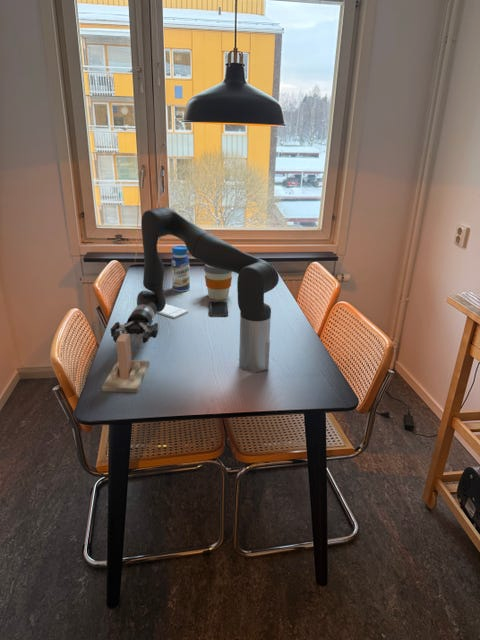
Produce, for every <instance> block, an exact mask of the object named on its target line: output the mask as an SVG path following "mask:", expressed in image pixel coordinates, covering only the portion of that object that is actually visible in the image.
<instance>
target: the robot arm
mask: <svg viewBox="0 0 480 640" xmlns="http://www.w3.org/2000/svg"><path fill="white" fill-rule="evenodd" d="M140 226H141V237H142V249H143V258H144V261H143V262H144V264H143V265H144V266H143V281H142V285H143V288H144V289H146V290H141V291H140V292H139V293H138V294H137V297H136V307H135V308H134V309H133V310H132V312H131V313H130V316H128V318H127V321H126V322H125V323H124V324H121V323H120V322H119V321H116V322H115V323H114V325H113V326H111V328H110V335H111V337H112V340H113V342H114V343H116V341H117V339H118V337H119V336H120V334H130V336H131V335H138V336H139V335H140V336H141V337H142V341H141V342H142V344H146V343H148V342H149V339H151V338H153V339H155V338H157V337H158V333H159V323H157V322H156V323H154V324H153V322H154V317H155V316H156V314H157V313H156V312H160V311H162V310H163V309H164V307H165V304H167V302H166V296H165V291H164V277H165V274H164V273H165V267H164V262H163V260H162V258H161V257H160V254H159V251H158V241H159V238H162V237H164V236H168V235H169V236H174V237H176V238H178V239H180V240H181V241H182V242H183V243H184V244H185V245H184V246H186V248H187V253H189V255H191V256H192V257H193V258H195V260H197V261H199V262H201V263H202V264H204V265H205V264H206V265H208V266H211V267H214V268H218V269H223V270H228V271H232V272H233V273H235V274H238V276H237V279H236V280H237V281H236V283H237V285H236V286H237V290H236V291H237V305H238V310H239V312H240V313H239V316H240V317H239V319H240V320H239V321H240V322H239V346H238V347H239V351H238V352H239V353H238V354H239V355H238V357H239V358H238V365H239V368H240V369H242V370H243V371H246V372H249V373H260V372H263V371H269V368H270V367H269V365H270V351H271V350H270V347H271V346H270V345H271V342H270V341H271V340H270V337H271V332H270V331H271V320H272V319H271V317H272V316H271V315H272V307H271V306H270V305H269V304H267V303H265V293H268V292H270V291H272V290H273V289H274V288H276V287H277V285H278V283H279V281H280V277H279V273H278V270H277V269H276V268H275V267H274V266H273V265H272V264H271V263H270V262H268V261H266V260H264V259H261V258H258V257H256V256H253V255H252V254H249V253H246V252H244V251H243V250H241V249H239V248H237V247H235V246H234V245H232V244H230V243H228V242H227V241H225V240H223V239H221V238H220V237H218V236H216V235H215V234H213V233H211V232H208V231H207V230H204V229H203V228H201V227H200V226H198V225H197V224H194V223H192V222H190V221H189V220H188V219H186V218H185V217H183V215H180V214H179V213H178V212H177V211H175V210H174V209H172V208H170V207H167V206H163V207H158V208H157V207H155V208H152V209H147V210H146V211H144V212H143V214H142V217H141V225H140Z"/></svg>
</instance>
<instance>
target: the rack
mask: <svg viewBox="0 0 480 640" xmlns="http://www.w3.org/2000/svg"><path fill="white" fill-rule="evenodd" d="M149 366H150V360H140V359H139V360H137V359H136V360H135V359H132V367H133V369H132V371H131V373H130V376H129V378H120V373H119V363H118V359H117V360H116V362H115V364H114V365H113V367H112V368H111V371H110V372H109V373H108V376H107V378H106V379H105V381H104V382H103V384H102V387H101V391H102V392H114V393H117V392H119V393H122V392H124V393H139V389H140V387H141V385H142V382H143V380H144V378H145V375H146V373H147V371H148V368H149Z"/></svg>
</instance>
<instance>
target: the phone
mask: <svg viewBox="0 0 480 640" xmlns="http://www.w3.org/2000/svg"><path fill="white" fill-rule="evenodd" d="M208 316H209V317H211V318H213V317H214V318H216V317H218V318H219V317H221V318H223V317H228V316H229V308H228V302H227V301H221V300H218V301H217V300H215V301H214V300H213V301H212V300H211V301H209V303H208Z"/></svg>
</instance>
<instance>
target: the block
mask: <svg viewBox="0 0 480 640" xmlns="http://www.w3.org/2000/svg"><path fill="white" fill-rule="evenodd" d="M130 336H131V335H130V334H121V333H120V336H119V337H118V339H117V341H116V353H117V360H118V363H119V373H120V378H129V376H130V373H131V371H132V369H133V367H132V360H133V359H132V358H133V357H132V346H131V337H130Z"/></svg>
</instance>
